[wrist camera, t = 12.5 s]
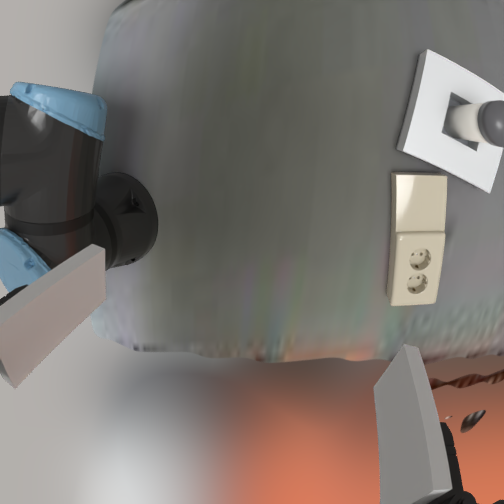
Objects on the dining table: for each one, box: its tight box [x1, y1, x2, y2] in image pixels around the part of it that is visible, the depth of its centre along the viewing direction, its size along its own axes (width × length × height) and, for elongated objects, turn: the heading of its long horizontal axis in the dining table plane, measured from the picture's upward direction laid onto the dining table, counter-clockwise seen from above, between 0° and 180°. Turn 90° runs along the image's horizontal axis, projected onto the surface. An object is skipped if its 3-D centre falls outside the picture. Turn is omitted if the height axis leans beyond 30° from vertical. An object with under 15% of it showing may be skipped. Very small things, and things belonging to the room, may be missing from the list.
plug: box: [443, 100, 504, 148], centre depth 24 cm, size 5×5×12 cm
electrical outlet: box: [386, 172, 447, 306], centre depth 36 cm, size 7×4×18 cm
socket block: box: [396, 49, 504, 193], centre depth 28 cm, size 14×14×4 cm
